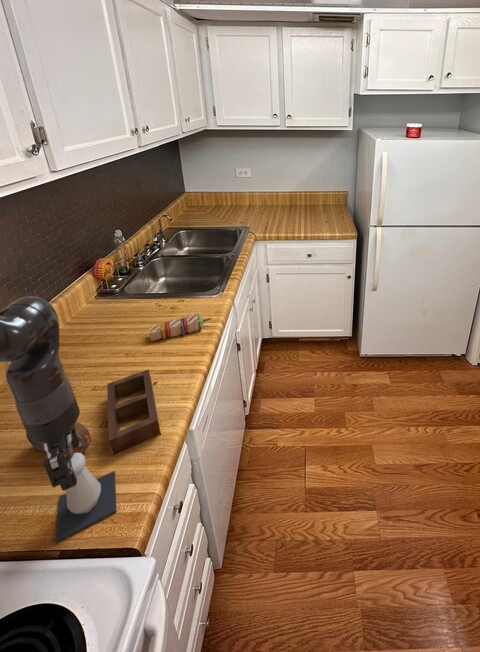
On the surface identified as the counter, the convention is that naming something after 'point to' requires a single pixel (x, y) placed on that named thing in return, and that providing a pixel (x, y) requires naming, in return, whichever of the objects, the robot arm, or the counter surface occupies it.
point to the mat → (103, 508)
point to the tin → (81, 434)
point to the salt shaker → (82, 487)
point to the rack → (131, 412)
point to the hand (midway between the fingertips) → (71, 465)
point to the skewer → (177, 327)
